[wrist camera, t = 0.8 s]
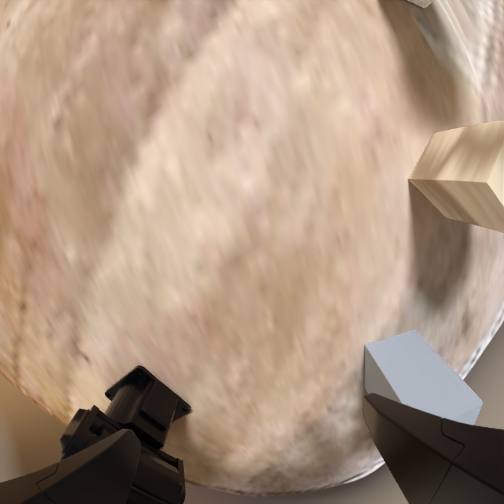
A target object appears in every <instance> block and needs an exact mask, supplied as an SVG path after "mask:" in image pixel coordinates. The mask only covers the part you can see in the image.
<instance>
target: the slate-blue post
mask: <svg viewBox="0 0 504 504" xmlns="http://www.w3.org/2000/svg"><path fill="white" fill-rule="evenodd" d="M364 387H365V389H366V391H367V393H368V394H370V393H376V394H379V395H381V396H384V397H386V398H389V399H392V400H394V401H397V402H400V403H402V404H405V405H408V406H411V407H413V408H416V409H419V410H422V411H425V412H428V413H431V414H434V415H437V416H440V417H442V418H447V419H450V420H454V421H457V422H461V423H465V424H470V425H474V423H475V421H476V419H477V416H478V413H479V411H480V409H481V406H482V403H483V402H482V401H481V400H480V398H479V397H478V396H477V395H476V394H475V393H474V392H473V391H472V389H471V388H469V386H468V385H467V384H466V383H465V382H464V381H463V380H462V379H461V377H460V376H459V375H458V374H457V373H456V372H455V371H454V370H453V369H452V368H451V367H450V366H449V365H448V364H447V363H446V362H445V360H444V359H443V358H442V357H441V356H440V355H439V354H438V353H437V352H436V351H435V350H434V349H433V348H432V347H431V346H430V345H429V344H428V343H427V342H426V341H425V340H424V339H423V338H422V337H421V336H420V335H419V334H418V333H417V332H416V331H415V330H411V331H408V332H405V333H402V334H399V335H396V336H392V337H389V338H386V339H382V340H379V341H375V342H372V343H368V344H365V380H364Z"/></svg>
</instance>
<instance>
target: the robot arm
mask: <svg viewBox="0 0 504 504" xmlns="http://www.w3.org/2000/svg"><path fill="white" fill-rule="evenodd" d="M139 370H140V371H141V372H140V371H139ZM105 395H106V397H107V398H108V399H110V400H111V403H110V405H109V407H108V408H107V410H106V412H105V414H104V413H103V412H101V411H100V410H99V408H98V407H96V406H95V405H93V407H92V408H91V409H90V410H89V409H88V410H84V409H79V410H78V411H77V413H76V414H75V416H74V417H73V419H72V420H71V422H70V423H69V425H68V427H67V428H66V430H65V432H64V434H63V435H62V437H61V438H60V442H61V446H62V450H61V453H62V454H61V457H60V459H59V463H58V462H57V463H55V464H53V465H51V466H48V467H46V468H44V469H41V470H38V471H36V472H33V473H30V474H27V475H24V476H21V477H18V478H15V479H12V480H8V481H5V482H2V483H0V504H183V503H184V500H185V481H184V468H183V461H182V460H180V459H178V458H174V457H172V456H170V455H168V454H167V453H165V452H163V451H162V449H163V447H164V444H165V441H166V437H167V434H168V431H169V428H170V426H171V423H172V422H173V421H175V420H177V419H178V418H180V417H182V416H184V415H186V414H187V413H189V412H190V406H189V405H188V404H187V403H186V402H184V401H183V400H182V399H180V398H179V397H178V396H177V395H175V394H174V393H173V392H172V391H171V390H169V389H168V388H167V387H166V386H165V385H163V384H162V383H161V382H160V381H159V380H158V379H156V378H155V377H154V376H153V375H152V374H151V373H150V372H148V371H147V370H146V369H145V368H144V367H143V366H136V367H135V368H134V369H133V370H131V371H130V372H129V373H128V374H126V375H125V376H124V377H123V378H121V379H120V380H119V381H118V382H116V383H115V384H114V385H112V386H111V387H110V388H109V389H107V391H106V392H105ZM184 408H186V409H184ZM363 415H364V418H365V421H366V423H367V426H368V428H369V431H370V433H371V436H372V438H373V441H374V443H375V445H376V447H377V449H378V451H379V452H380V454H381V456H382V458H383V459H384V461H385V463H386V464H387V466H388V468H389V470H390V471H391V473H392V475H393V477H394V478H395V480H396V482H397V483H398V485H399V487H400V489H401V491H402V492H403V494H404V496H405V498H406V499H407V501H408V503H409V504H504V430H503V429H495V428H488V427H481V426H475V425H470V424H465V423H461V422H457V421H454V420H450V419H447V418H442V417H440V416H437V415H434V414H431V413H428V412H425V411H422V410H419V409H416V408H413V407H411V406H408V405H405V404H402V403H400V402H397V401H394V400H392V399H389V398H386V397H384V396H381V395H379V394H376V393H370V394H366V395H364V396H363Z"/></svg>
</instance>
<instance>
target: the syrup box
mask: <svg viewBox="0 0 504 504" xmlns="http://www.w3.org/2000/svg"><path fill="white" fill-rule="evenodd" d="M407 1H409V2H412V3H414V4H416V5H418V6H420V7H422V8H426V7H427V6H429V5H430V4H431V3H432V2H433V1H434V0H407Z"/></svg>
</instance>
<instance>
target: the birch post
mask: <svg viewBox="0 0 504 504" xmlns="http://www.w3.org/2000/svg"><path fill="white" fill-rule="evenodd" d="M408 180H409V181H410V182H411V183H412V184H413V185H414V186H415V187H416V188H417V189H419V190H420V191H421V192H422V193H423V194H424V195H425V197H426V198H427V199H428V200H429V201H430V202H431V203H432V204H433V205H434V206H435V207H436V208H437V209H438V210H439V211H440V212H441V213H442V214H443V216H444V217H445V218H449V219H454V220H458V221H462V222H466V223H470V224H473V225H477V226H481V227H485V228H488V229H492V230H496V231H499V232H503V233H504V120H500V121H494V122H488V123H482V124H476V125H471V126H466V127H460V128H455V129H450V130H445V131H441V132H436V133H434V134H433V136H432V138H431V140H430V141H429V143H428V145H427V147H426V149H425V150H424V152H423V154H422V156H421V157H420V159H419V161H418V163H417V164H416V166H415V168H414V170H413V171H412V173H411V175H410V176H409V178H408Z"/></svg>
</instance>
